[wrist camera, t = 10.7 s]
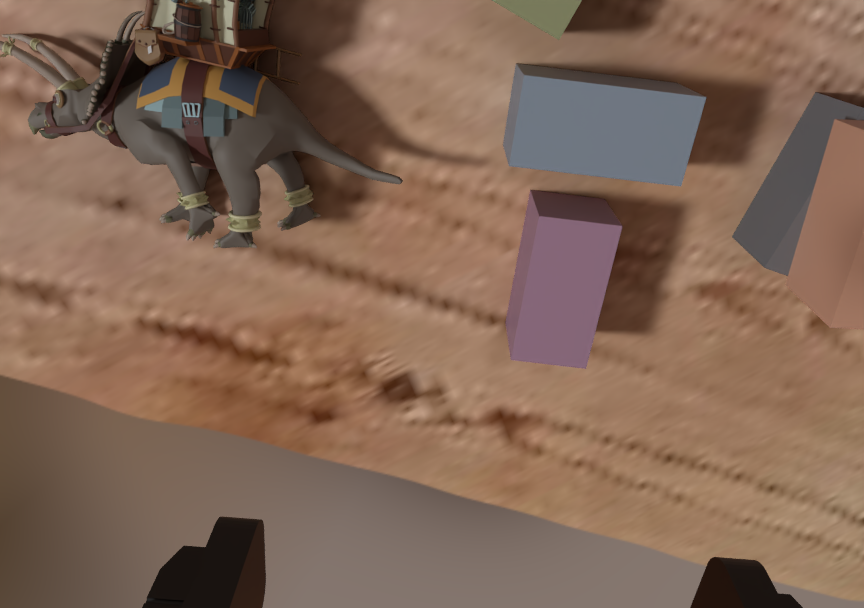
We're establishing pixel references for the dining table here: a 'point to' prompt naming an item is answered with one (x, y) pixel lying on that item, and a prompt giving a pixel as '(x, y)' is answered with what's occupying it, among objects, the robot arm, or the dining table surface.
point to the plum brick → (560, 278)
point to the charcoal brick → (791, 186)
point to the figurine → (193, 109)
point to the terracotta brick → (834, 233)
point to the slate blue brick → (601, 124)
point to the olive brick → (544, 13)
